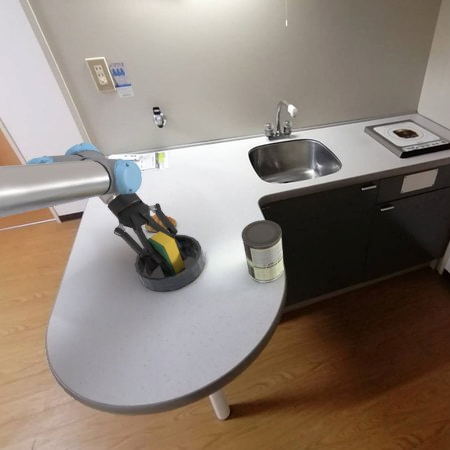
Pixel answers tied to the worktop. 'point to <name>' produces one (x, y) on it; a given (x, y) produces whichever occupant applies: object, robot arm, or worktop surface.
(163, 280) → the bowl
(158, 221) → the pastry
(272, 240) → the coffee can
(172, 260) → the sponge
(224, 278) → the worktop surface
